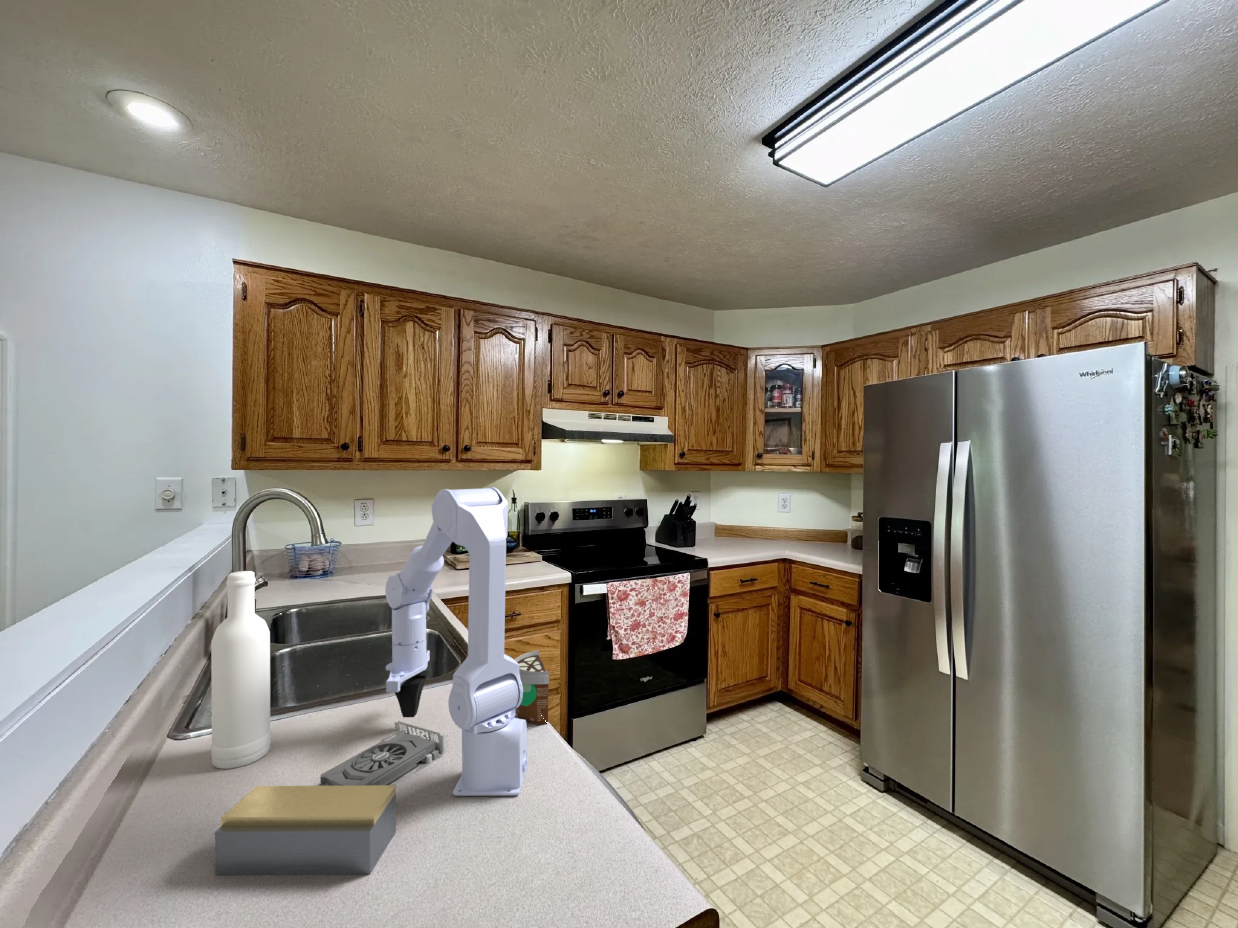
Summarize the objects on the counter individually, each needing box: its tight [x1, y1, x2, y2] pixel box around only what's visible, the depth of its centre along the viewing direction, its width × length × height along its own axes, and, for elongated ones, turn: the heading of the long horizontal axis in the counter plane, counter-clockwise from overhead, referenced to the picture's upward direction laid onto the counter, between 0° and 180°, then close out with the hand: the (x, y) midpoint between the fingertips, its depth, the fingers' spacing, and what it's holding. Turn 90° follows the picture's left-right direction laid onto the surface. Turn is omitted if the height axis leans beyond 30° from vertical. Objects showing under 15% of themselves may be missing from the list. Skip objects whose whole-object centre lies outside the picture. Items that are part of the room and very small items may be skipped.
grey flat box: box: [214, 784, 397, 876], centre depth 64 cm, size 18×7×6 cm, turn 90°
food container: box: [514, 650, 550, 726], centre depth 99 cm, size 12×6×10 cm, turn 17°
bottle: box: [210, 570, 272, 770], centre depth 86 cm, size 8×8×30 cm
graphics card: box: [319, 720, 449, 786], centre depth 82 cm, size 17×4×12 cm
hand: (409, 715), depth 94 cm, fingers closed
